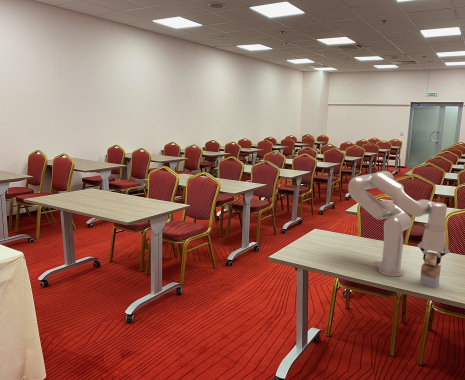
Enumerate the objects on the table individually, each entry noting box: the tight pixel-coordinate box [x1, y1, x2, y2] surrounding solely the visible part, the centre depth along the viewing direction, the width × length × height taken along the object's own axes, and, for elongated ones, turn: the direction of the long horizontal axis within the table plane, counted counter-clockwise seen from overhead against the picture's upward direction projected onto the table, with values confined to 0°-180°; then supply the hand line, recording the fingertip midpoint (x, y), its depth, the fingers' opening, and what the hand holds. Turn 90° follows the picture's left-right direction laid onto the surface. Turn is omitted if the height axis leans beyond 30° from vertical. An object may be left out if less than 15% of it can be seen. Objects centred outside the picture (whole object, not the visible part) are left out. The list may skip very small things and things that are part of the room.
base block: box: [419, 274, 441, 289], centre depth 198 cm, size 7×7×5 cm
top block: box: [420, 262, 442, 279], centre depth 197 cm, size 7×7×5 cm
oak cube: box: [424, 250, 438, 266], centre depth 196 cm, size 5×5×5 cm
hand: (431, 262), depth 196 cm, fingers closed on oak cube, 5 cm apart
